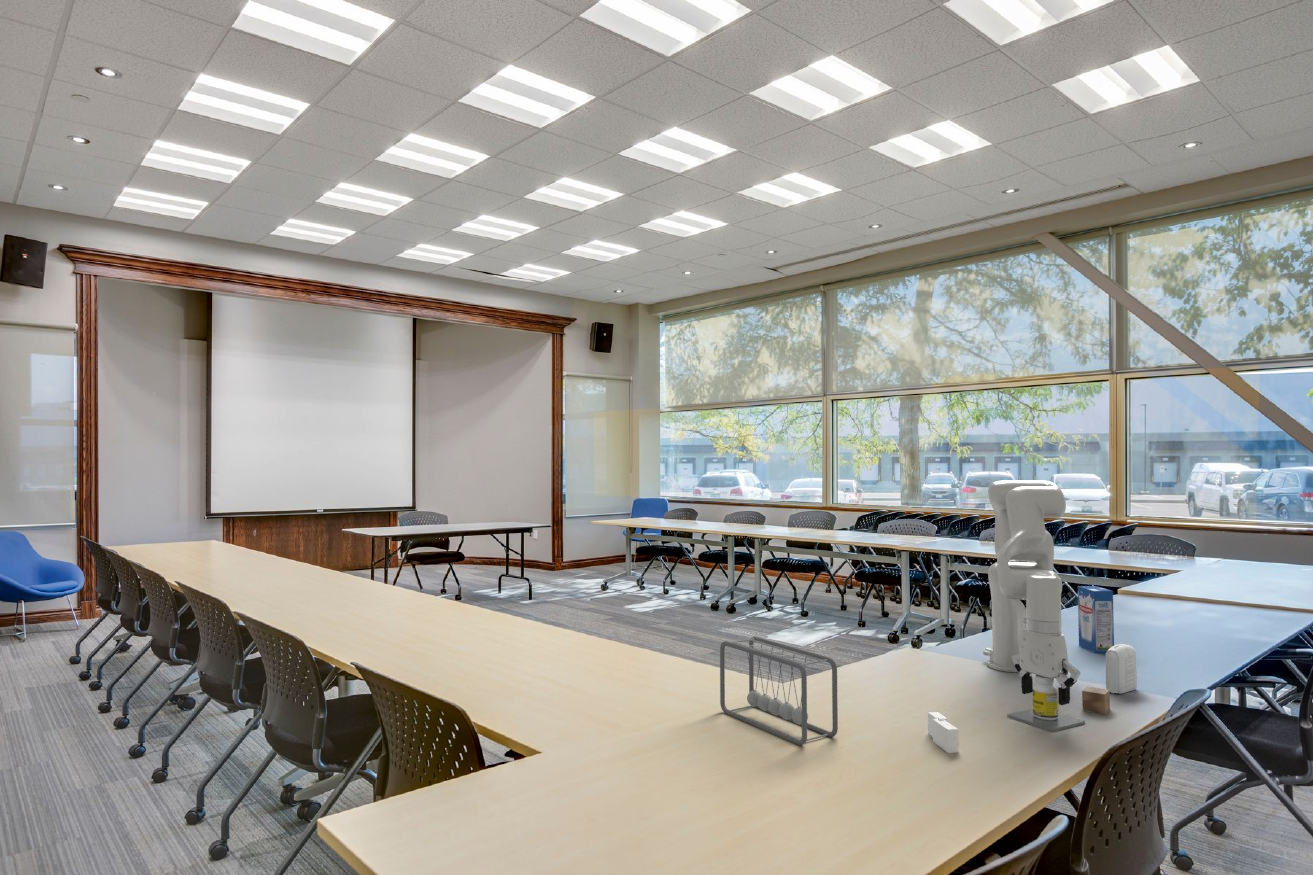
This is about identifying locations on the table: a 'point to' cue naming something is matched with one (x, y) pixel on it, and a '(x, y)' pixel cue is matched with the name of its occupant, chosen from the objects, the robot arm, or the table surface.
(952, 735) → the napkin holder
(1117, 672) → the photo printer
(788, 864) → the table surface
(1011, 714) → the slate coaster
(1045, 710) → the supplement bottle
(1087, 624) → the milk carton
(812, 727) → the newton's cradle
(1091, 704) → the walnut block
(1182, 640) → the table surface
